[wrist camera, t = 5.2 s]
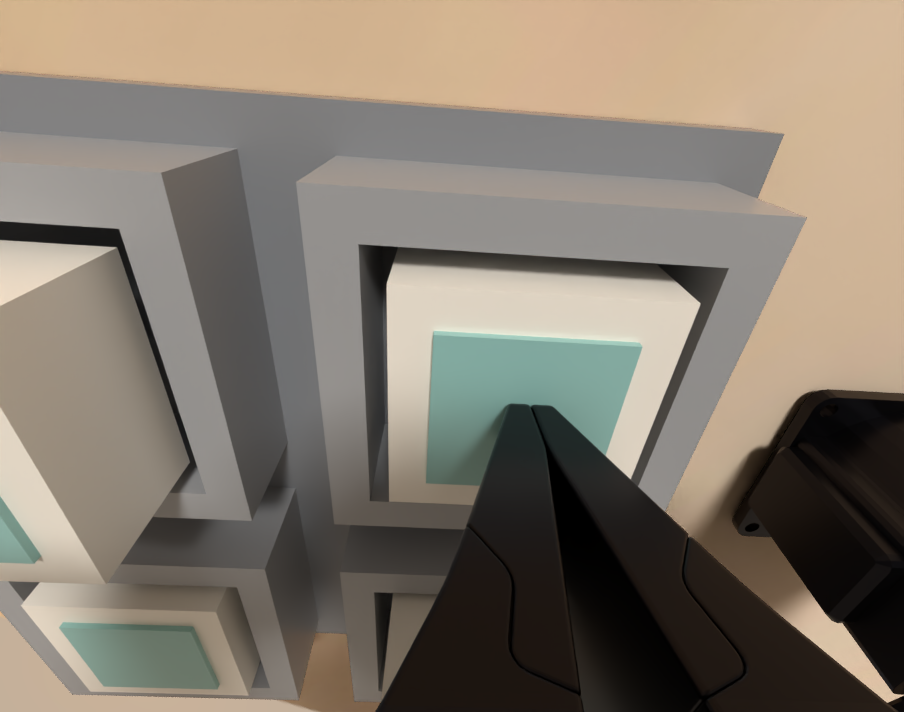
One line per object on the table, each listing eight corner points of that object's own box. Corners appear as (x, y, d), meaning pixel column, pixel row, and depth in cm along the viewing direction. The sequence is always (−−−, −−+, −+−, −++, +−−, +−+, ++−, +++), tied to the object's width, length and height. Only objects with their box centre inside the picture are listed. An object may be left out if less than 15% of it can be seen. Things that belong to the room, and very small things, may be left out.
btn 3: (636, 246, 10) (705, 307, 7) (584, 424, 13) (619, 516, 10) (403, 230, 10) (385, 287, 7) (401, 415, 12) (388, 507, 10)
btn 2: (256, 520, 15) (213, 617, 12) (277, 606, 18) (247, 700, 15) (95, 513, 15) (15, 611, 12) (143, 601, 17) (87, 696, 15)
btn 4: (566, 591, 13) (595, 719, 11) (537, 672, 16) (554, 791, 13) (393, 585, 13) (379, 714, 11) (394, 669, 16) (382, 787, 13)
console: (749, 128, 10) (905, 153, 7) (567, 612, 20) (590, 719, 17) (-191, 56, 9) (-569, 41, 6) (122, 597, 20) (54, 706, 16)
